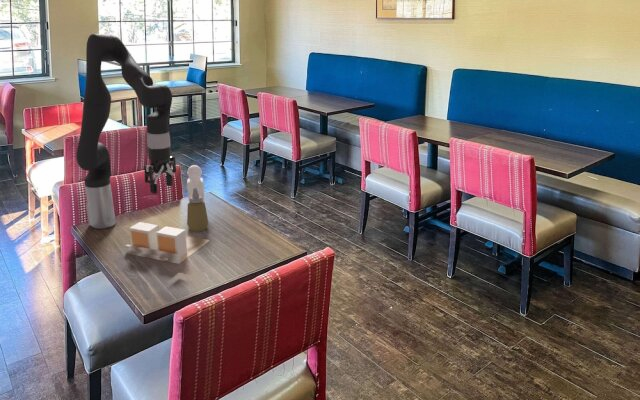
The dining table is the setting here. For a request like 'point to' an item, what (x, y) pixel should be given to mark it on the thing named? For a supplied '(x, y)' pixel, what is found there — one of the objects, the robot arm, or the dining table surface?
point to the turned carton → (172, 240)
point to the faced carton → (144, 235)
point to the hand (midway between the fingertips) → (162, 189)
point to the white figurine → (195, 181)
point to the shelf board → (192, 246)
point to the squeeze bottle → (196, 213)
